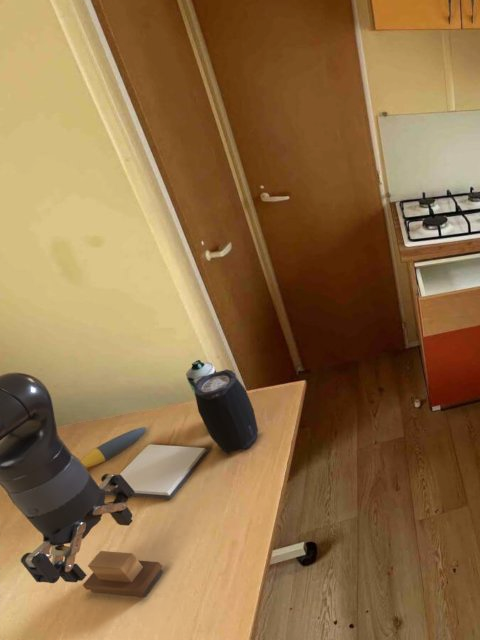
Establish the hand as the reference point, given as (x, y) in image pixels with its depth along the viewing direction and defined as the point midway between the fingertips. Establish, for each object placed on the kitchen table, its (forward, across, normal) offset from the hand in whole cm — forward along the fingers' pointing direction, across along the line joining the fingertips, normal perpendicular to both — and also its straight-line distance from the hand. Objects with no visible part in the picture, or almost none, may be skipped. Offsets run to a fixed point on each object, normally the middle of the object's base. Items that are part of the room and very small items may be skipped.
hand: (103, 549), depth 71 cm
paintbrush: (+10, -22, -28) cm, 37 cm away
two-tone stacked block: (+10, 0, 0) cm, 10 cm away
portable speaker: (+11, -30, +1) cm, 32 cm away
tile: (+10, -21, -12) cm, 26 cm away
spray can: (+11, -35, -7) cm, 37 cm away
